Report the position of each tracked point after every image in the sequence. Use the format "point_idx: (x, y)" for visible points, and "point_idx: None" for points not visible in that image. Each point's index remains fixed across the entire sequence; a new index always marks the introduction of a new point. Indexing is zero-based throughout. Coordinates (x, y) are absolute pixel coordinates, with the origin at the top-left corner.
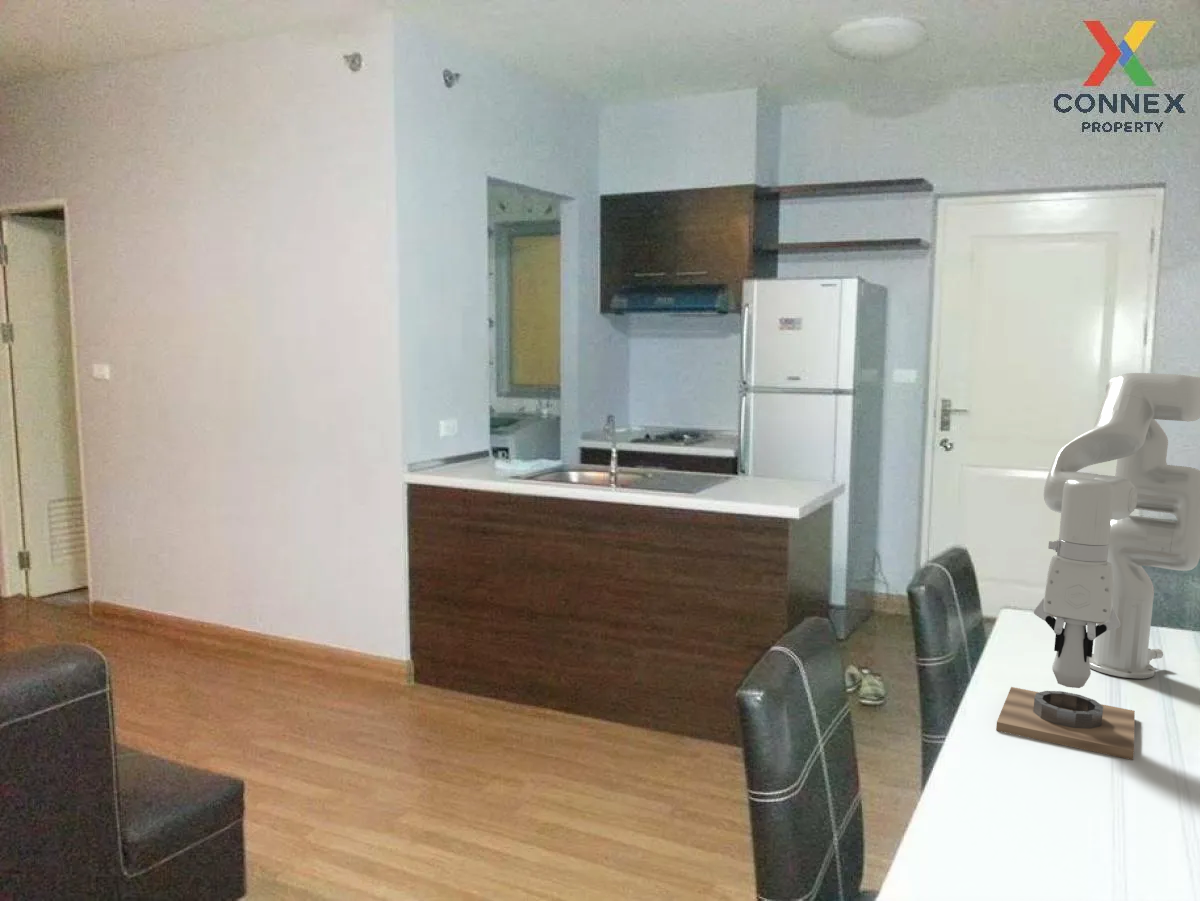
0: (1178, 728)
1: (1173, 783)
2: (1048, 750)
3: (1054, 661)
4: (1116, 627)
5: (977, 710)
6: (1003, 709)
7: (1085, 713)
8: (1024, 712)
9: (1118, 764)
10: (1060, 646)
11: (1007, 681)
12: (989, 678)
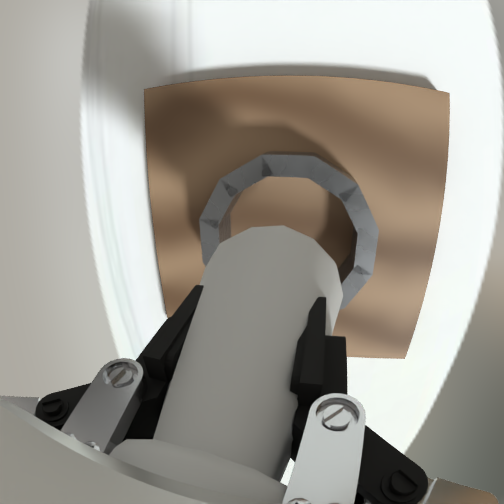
0: (118, 311)
1: (101, 38)
2: (319, 30)
3: (337, 305)
4: (5, 398)
5: (479, 214)
6: (440, 196)
7: (237, 172)
8: (393, 201)
9: (178, 48)
10: (316, 332)
11: (393, 403)
12: (422, 401)
